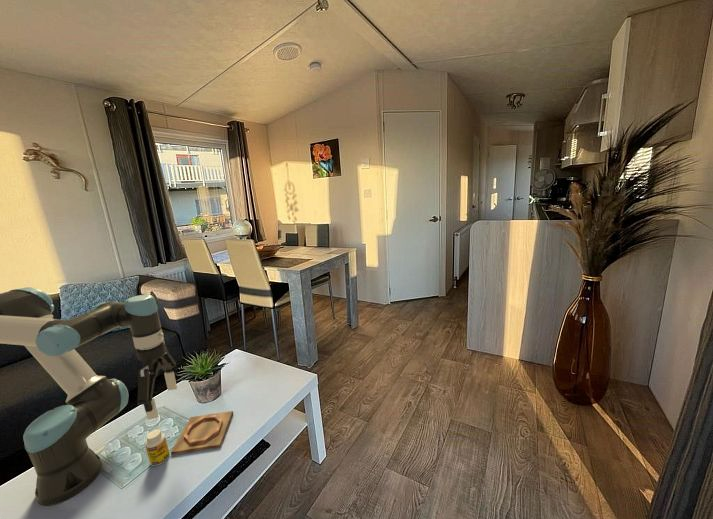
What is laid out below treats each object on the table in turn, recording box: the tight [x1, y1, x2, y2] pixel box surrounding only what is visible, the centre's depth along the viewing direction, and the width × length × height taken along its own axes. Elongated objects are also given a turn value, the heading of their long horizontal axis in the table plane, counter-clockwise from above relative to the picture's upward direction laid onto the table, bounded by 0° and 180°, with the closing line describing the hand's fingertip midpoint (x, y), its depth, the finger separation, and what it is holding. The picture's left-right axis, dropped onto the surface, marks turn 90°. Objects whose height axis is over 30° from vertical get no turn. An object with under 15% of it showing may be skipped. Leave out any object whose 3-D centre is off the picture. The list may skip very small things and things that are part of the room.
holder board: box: [170, 410, 234, 456], centre depth 108 cm, size 16×16×2 cm
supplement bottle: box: [144, 428, 171, 467], centre depth 97 cm, size 6×6×10 cm
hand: (163, 402), depth 97 cm, fingers open, 13 cm apart
